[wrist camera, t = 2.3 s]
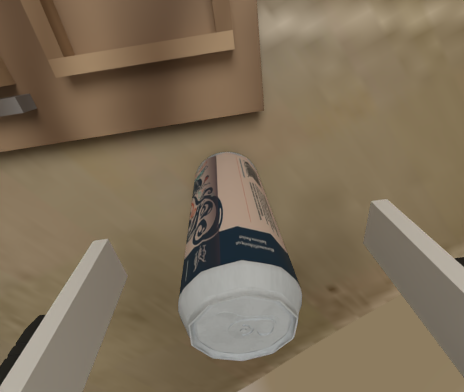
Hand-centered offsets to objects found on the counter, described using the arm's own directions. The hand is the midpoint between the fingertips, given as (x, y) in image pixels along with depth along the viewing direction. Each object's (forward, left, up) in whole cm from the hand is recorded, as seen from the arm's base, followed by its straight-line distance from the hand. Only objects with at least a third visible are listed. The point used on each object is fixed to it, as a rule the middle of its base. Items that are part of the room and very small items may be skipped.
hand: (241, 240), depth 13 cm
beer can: (0, 0, -8) cm, 8 cm away
